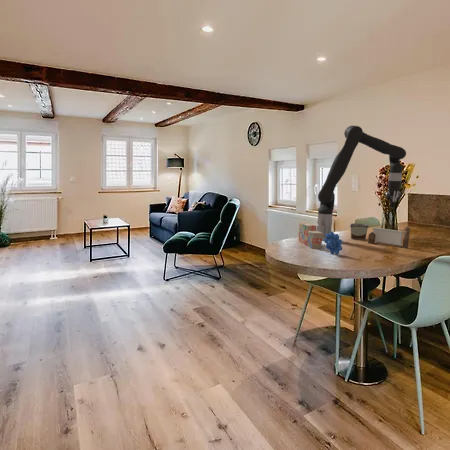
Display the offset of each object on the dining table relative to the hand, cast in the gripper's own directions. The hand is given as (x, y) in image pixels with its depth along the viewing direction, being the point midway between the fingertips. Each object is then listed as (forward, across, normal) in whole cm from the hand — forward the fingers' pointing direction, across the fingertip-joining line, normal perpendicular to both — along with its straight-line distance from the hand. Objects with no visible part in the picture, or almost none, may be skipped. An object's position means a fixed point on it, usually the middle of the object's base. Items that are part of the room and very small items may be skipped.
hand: (392, 207), depth 221 cm
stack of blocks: (+23, -56, +7) cm, 61 cm away
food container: (+23, -11, +17) cm, 31 cm away
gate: (+22, -7, -5) cm, 24 cm away
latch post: (+23, -13, +1) cm, 27 cm away
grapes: (+23, -58, -17) cm, 65 cm away
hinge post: (+23, -3, -16) cm, 28 cm away
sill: (+23, -7, -7) cm, 25 cm away
